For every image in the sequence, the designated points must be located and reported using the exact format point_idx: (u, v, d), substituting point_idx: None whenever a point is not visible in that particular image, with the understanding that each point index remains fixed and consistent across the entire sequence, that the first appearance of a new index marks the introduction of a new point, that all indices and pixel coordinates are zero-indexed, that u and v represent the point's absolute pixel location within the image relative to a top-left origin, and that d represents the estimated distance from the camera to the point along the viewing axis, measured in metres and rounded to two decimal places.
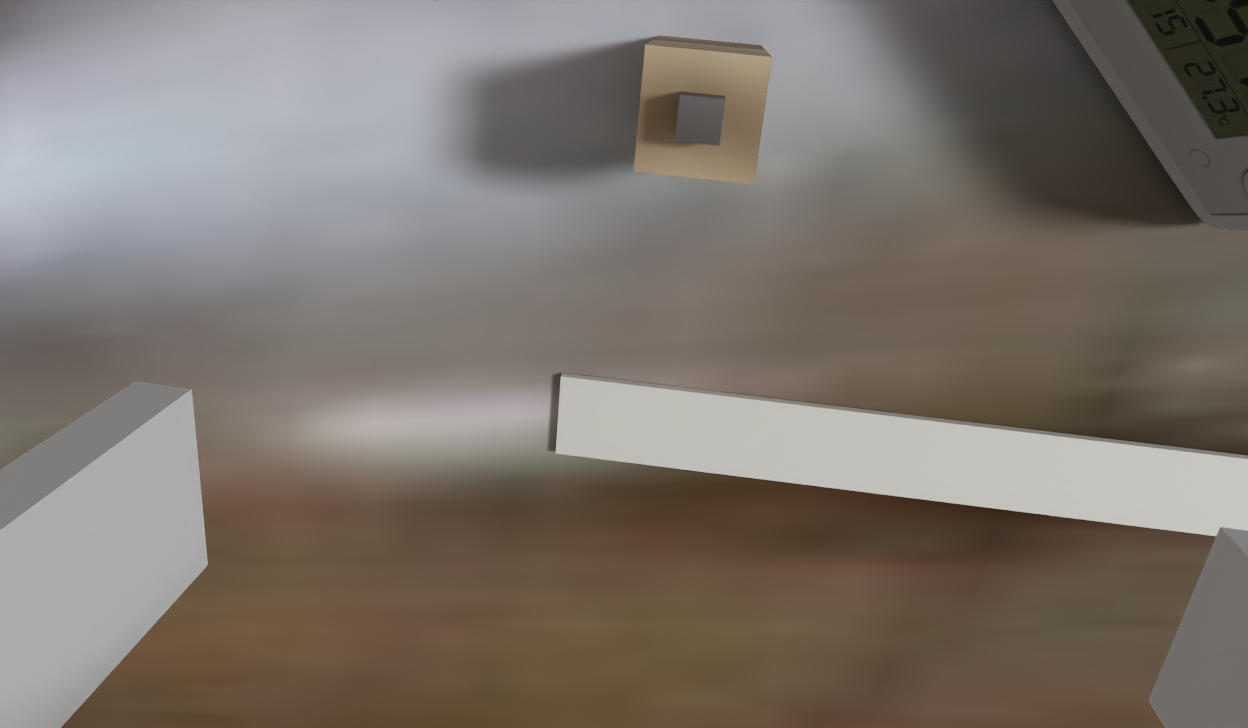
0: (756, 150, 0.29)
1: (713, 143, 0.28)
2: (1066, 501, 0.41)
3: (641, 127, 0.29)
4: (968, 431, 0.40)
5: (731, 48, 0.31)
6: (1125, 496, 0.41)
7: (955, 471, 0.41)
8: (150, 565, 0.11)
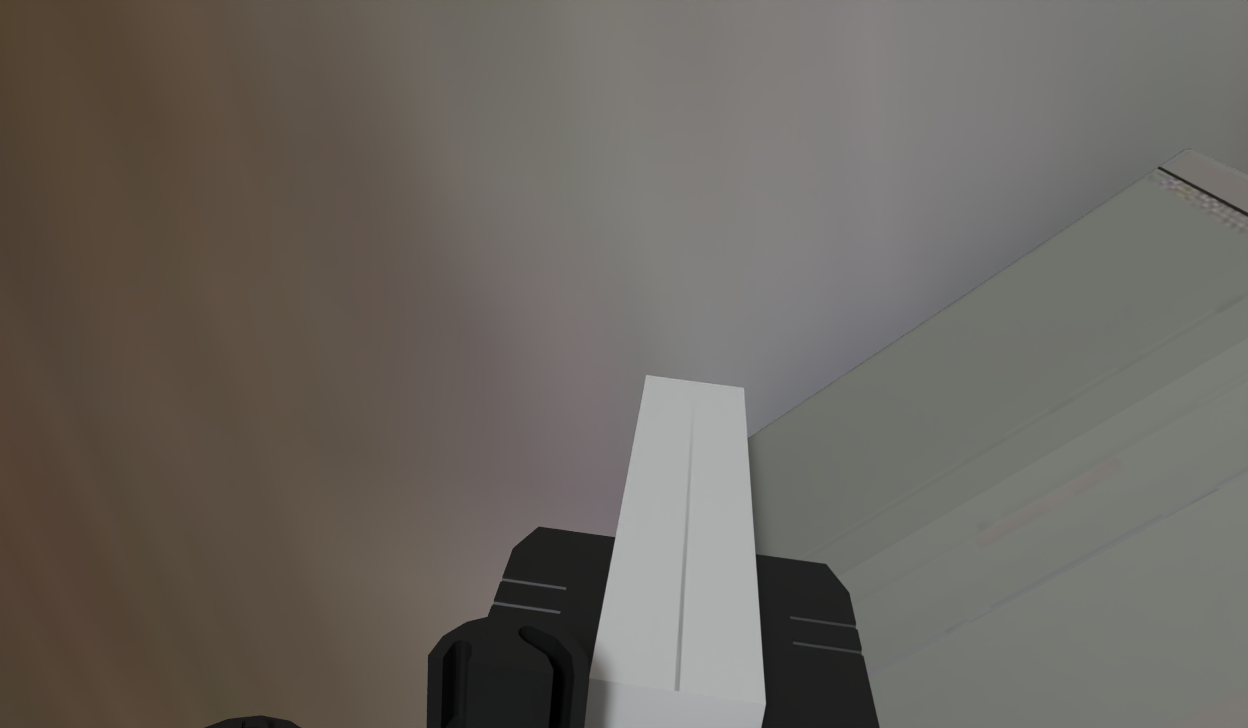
0: None
1: None
2: None
3: None
4: None
5: None
6: None
7: None
8: None
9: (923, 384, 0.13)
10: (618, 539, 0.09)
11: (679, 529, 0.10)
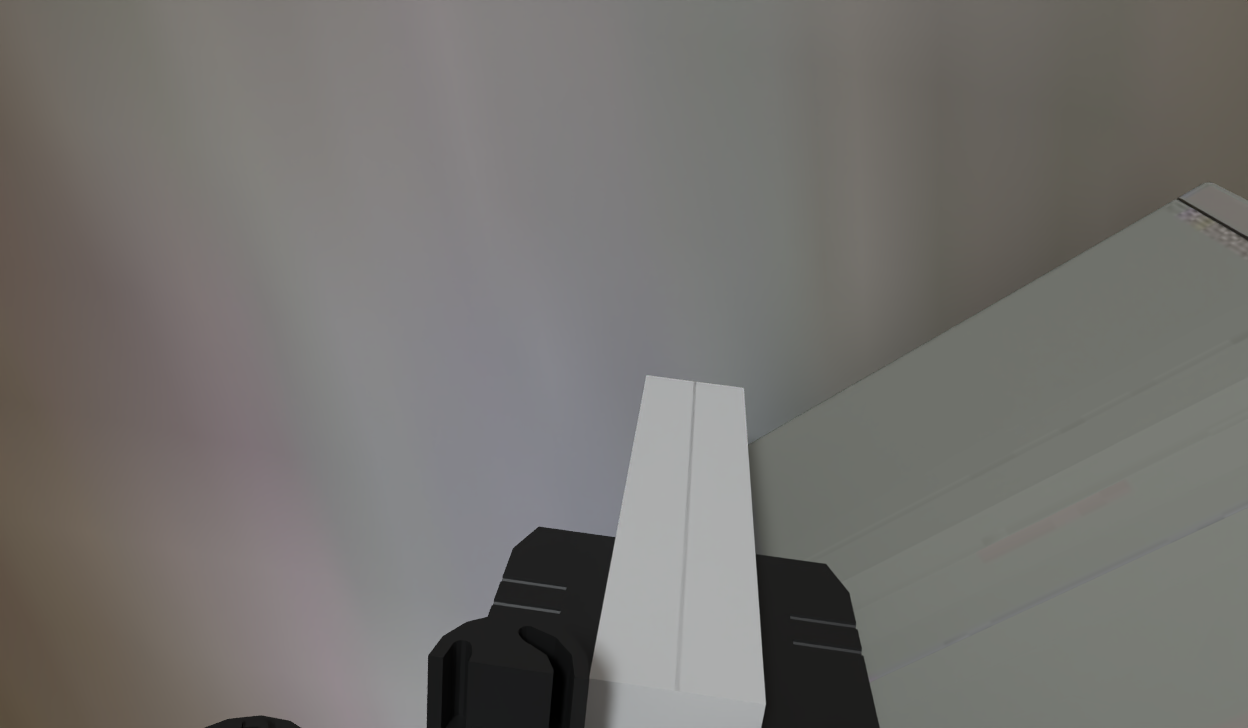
0: None
1: None
2: None
3: None
4: None
5: None
6: None
7: None
8: None
9: (932, 398, 0.13)
10: (618, 539, 0.09)
11: (679, 529, 0.10)
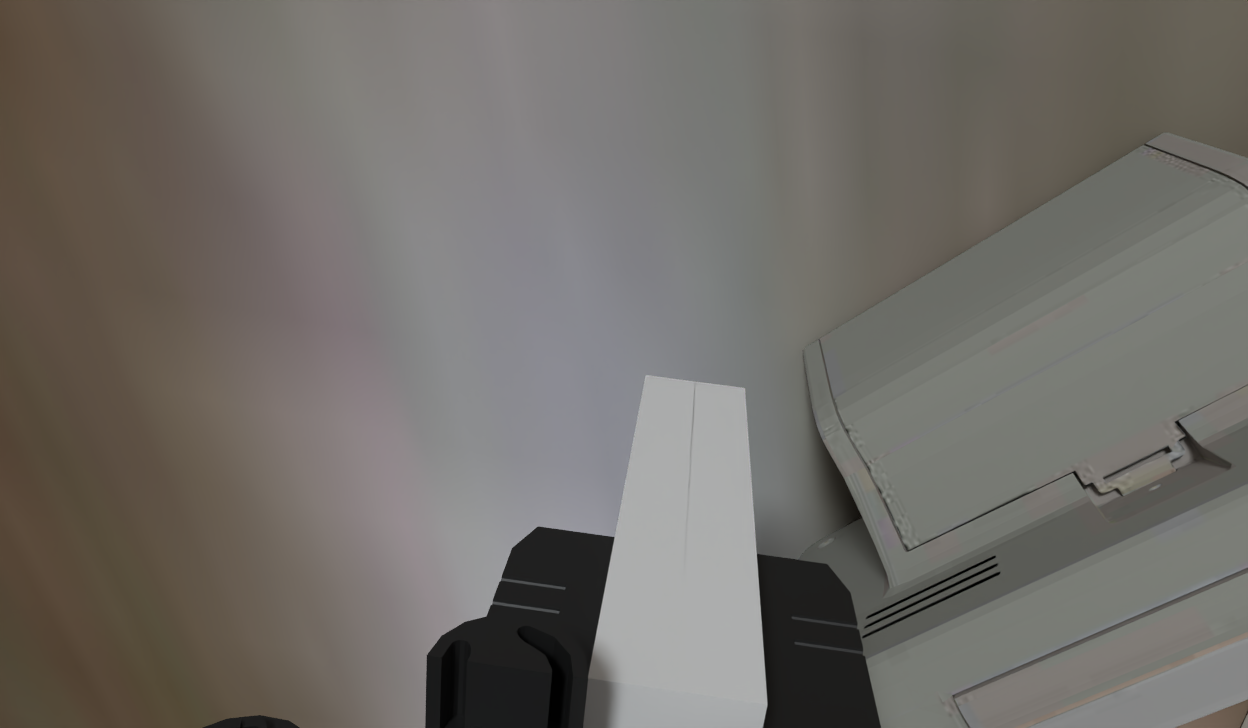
0: None
1: None
2: None
3: None
4: None
5: None
6: None
7: None
8: None
9: (965, 278, 0.19)
10: (618, 539, 0.09)
11: (680, 529, 0.10)
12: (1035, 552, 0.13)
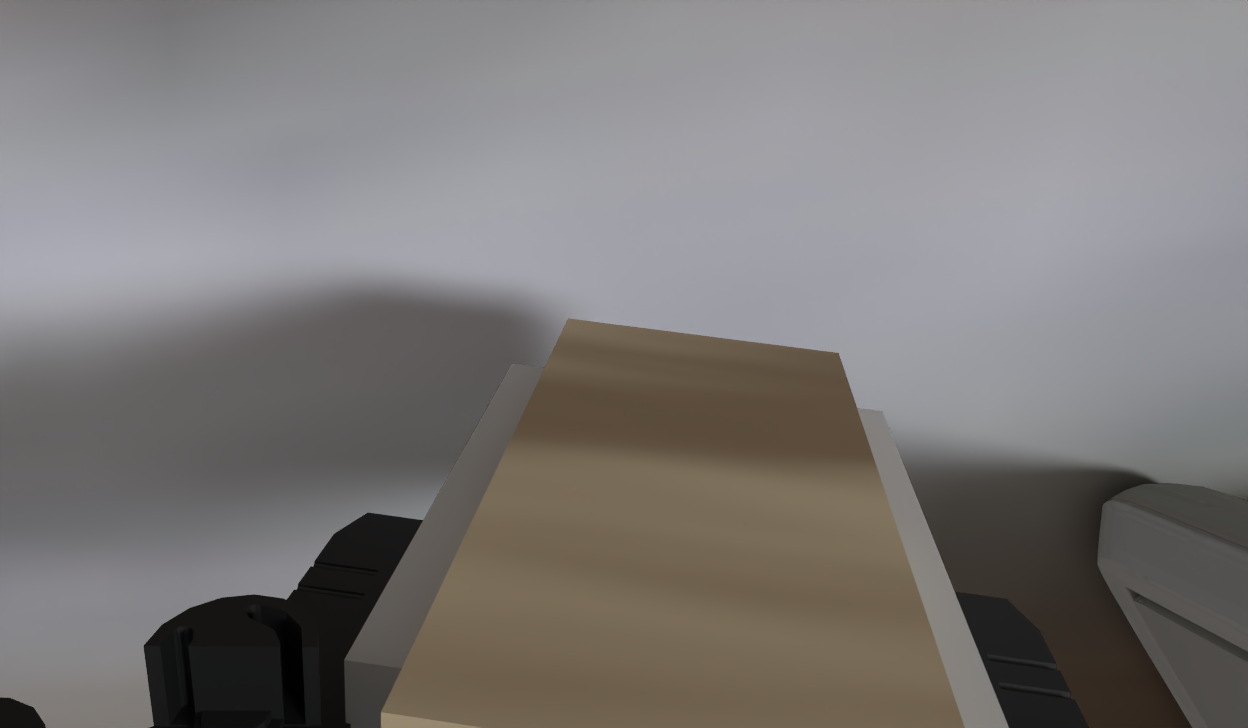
0: None
1: None
2: None
3: None
4: None
5: (772, 524, 0.09)
6: None
7: None
8: None
9: None
10: (424, 523, 0.09)
11: None
12: None
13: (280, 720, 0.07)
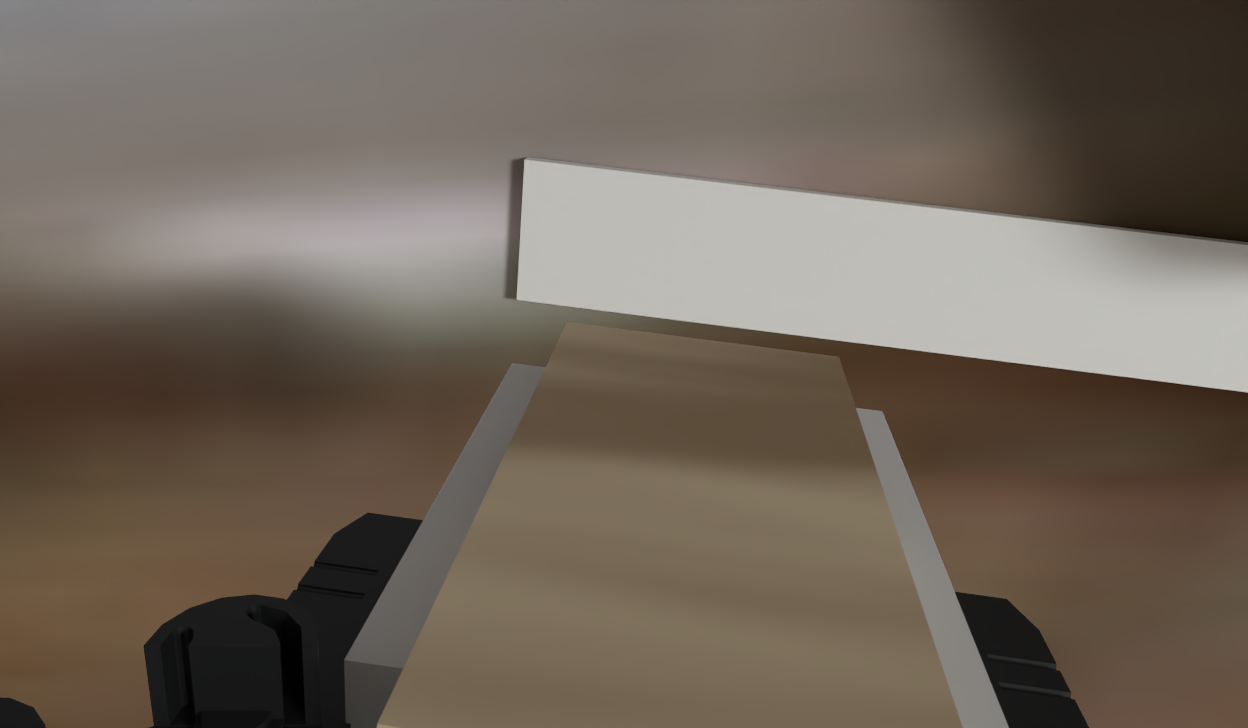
0: None
1: None
2: None
3: None
4: (1224, 253, 0.23)
5: (772, 531, 0.09)
6: None
7: (1192, 327, 0.24)
8: None
9: None
10: (424, 523, 0.09)
11: None
12: None
13: (280, 720, 0.07)
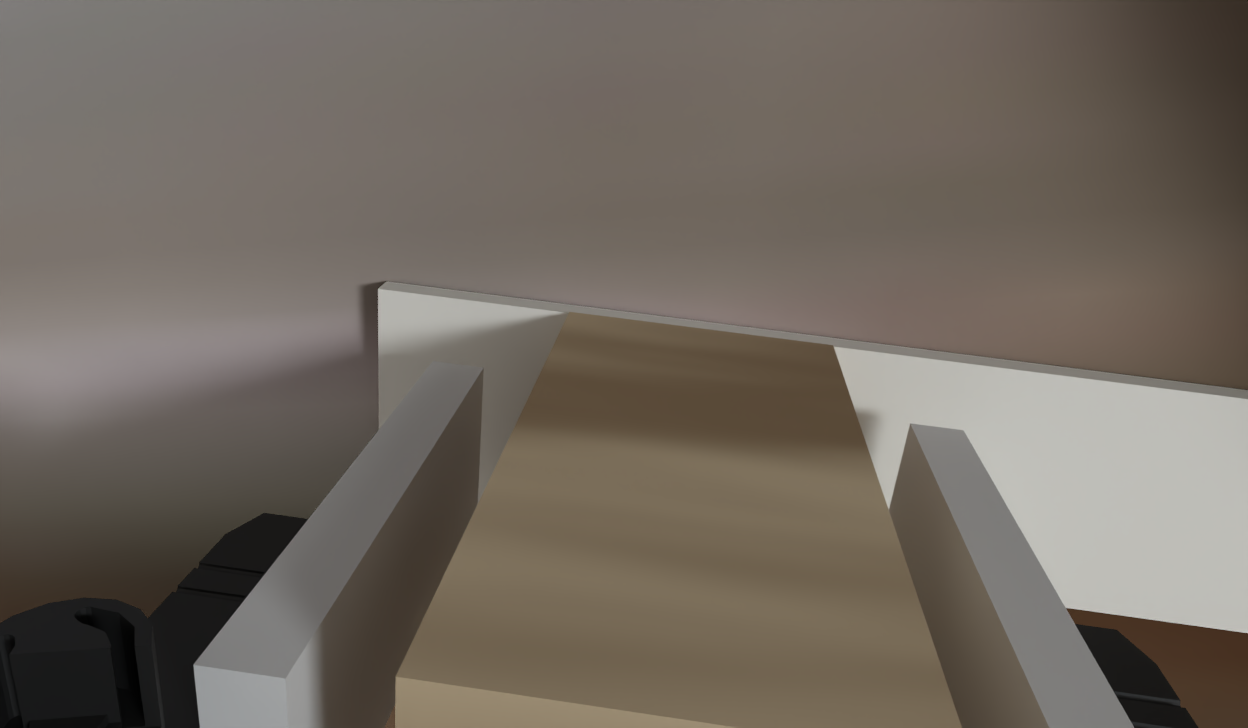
0: None
1: None
2: None
3: None
4: None
5: (768, 505, 0.09)
6: None
7: None
8: (457, 521, 0.13)
9: None
10: (307, 524, 0.09)
11: (985, 598, 0.09)
12: None
13: (117, 723, 0.07)
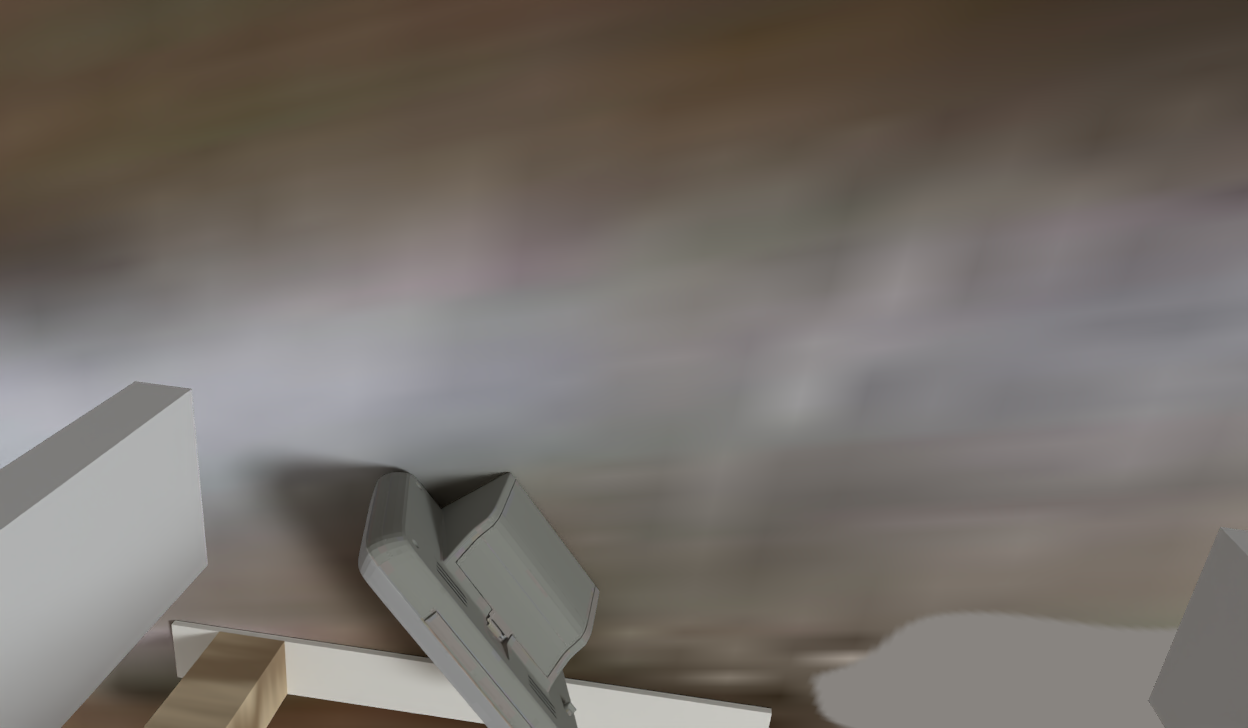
0: None
1: None
2: None
3: None
4: None
5: (222, 697, 0.49)
6: (597, 722, 0.54)
7: None
8: (150, 565, 0.11)
9: (546, 541, 0.48)
10: None
11: None
12: (473, 613, 0.42)
13: None
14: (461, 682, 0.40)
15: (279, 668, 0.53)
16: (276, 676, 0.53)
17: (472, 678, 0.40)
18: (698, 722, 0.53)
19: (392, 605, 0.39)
